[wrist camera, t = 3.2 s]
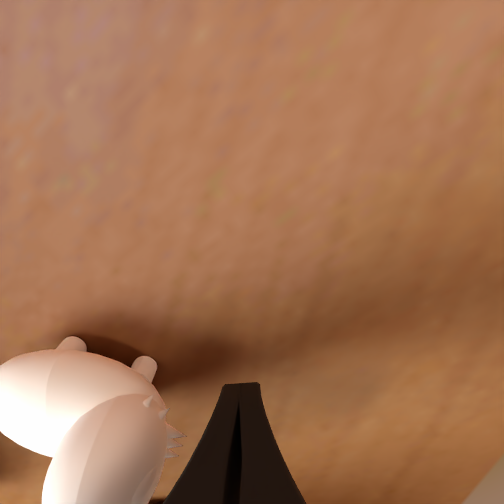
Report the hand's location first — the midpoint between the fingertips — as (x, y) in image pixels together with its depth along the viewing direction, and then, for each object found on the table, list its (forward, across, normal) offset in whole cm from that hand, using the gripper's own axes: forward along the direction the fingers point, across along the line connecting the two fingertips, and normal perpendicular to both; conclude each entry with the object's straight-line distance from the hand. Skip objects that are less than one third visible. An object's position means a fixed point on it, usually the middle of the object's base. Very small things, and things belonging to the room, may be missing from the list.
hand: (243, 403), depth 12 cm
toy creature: (+3, +6, 0) cm, 7 cm away
